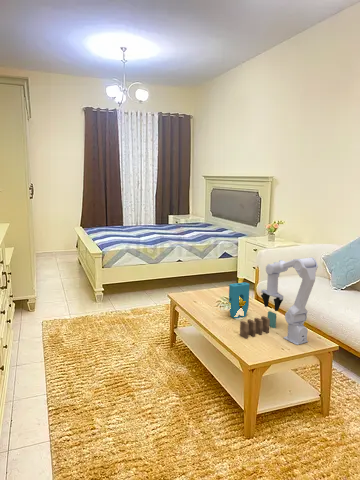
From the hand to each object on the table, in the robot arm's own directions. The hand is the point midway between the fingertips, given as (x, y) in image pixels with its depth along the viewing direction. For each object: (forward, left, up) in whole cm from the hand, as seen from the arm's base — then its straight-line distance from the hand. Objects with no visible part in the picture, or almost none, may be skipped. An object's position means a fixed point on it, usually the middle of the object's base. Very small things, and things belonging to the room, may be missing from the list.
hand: (271, 308), depth 205 cm
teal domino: (-1, 0, -10) cm, 10 cm away
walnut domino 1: (-5, +23, -10) cm, 25 cm away
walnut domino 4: (-5, +8, -10) cm, 14 cm away
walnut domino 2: (-5, +18, -10) cm, 21 cm away
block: (+20, +7, -11) cm, 24 cm away
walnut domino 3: (-5, +13, -10) cm, 17 cm away
